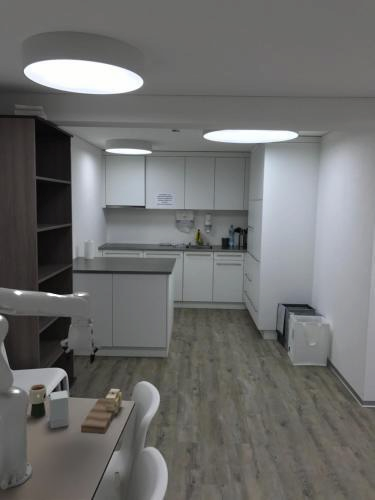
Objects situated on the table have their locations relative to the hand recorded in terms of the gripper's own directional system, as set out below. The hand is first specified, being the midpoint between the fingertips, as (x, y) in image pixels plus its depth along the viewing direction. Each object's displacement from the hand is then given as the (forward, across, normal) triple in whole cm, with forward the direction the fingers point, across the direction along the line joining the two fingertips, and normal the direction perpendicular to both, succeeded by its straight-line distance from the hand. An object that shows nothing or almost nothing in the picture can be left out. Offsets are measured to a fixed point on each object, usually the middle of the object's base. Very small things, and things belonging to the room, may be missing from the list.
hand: (81, 361), depth 164 cm
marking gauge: (+27, -10, -14) cm, 32 cm away
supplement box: (+28, +10, -1) cm, 30 cm away
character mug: (+28, +22, -6) cm, 37 cm away
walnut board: (+28, -6, -8) cm, 30 cm away
